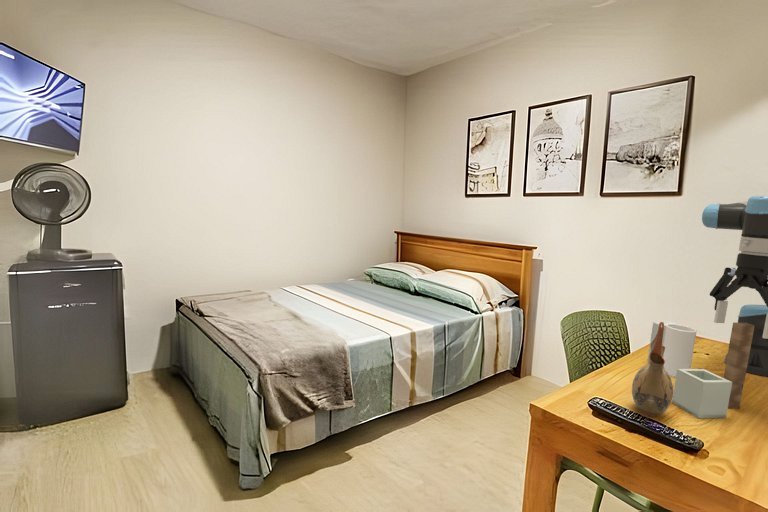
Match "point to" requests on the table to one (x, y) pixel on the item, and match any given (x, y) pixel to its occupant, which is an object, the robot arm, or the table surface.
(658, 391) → the ceramic vessel
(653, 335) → the skincare box
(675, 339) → the cup
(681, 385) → the white square tube
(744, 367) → the brown wooden plank
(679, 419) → the table surface
